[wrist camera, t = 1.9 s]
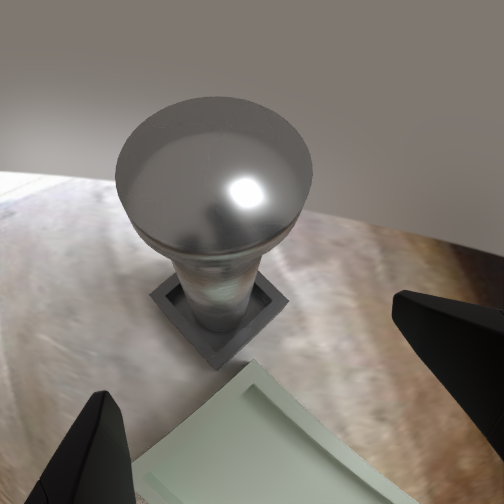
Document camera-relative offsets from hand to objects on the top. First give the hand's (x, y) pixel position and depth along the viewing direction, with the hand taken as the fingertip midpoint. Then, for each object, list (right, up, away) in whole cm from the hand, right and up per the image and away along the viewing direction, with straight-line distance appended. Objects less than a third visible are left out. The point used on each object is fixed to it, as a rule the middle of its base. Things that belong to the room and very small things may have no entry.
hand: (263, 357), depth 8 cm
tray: (+2, -14, +7) cm, 16 cm away
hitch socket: (-3, -1, +12) cm, 13 cm away
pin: (-2, 0, +12) cm, 12 cm away
